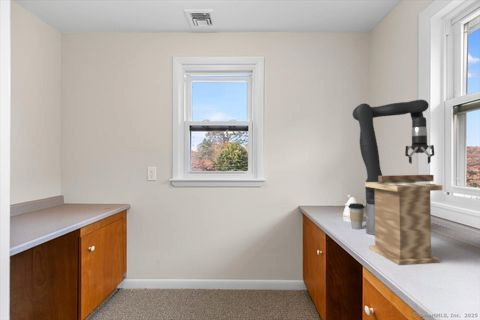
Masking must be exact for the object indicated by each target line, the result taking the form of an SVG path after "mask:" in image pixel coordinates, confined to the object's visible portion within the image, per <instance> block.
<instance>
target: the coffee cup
mask: <svg viewBox="0 0 480 320" xmlns="http://www.w3.org/2000/svg"><path fill="white" fill-rule="evenodd" d="M349 209H350V220H351V223H350V224H351V228H352V229H353V230H362V229H363V222H364V209H365V205H364V204H362V203H351V204H350V205H349ZM362 221H363V222H362Z"/></svg>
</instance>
